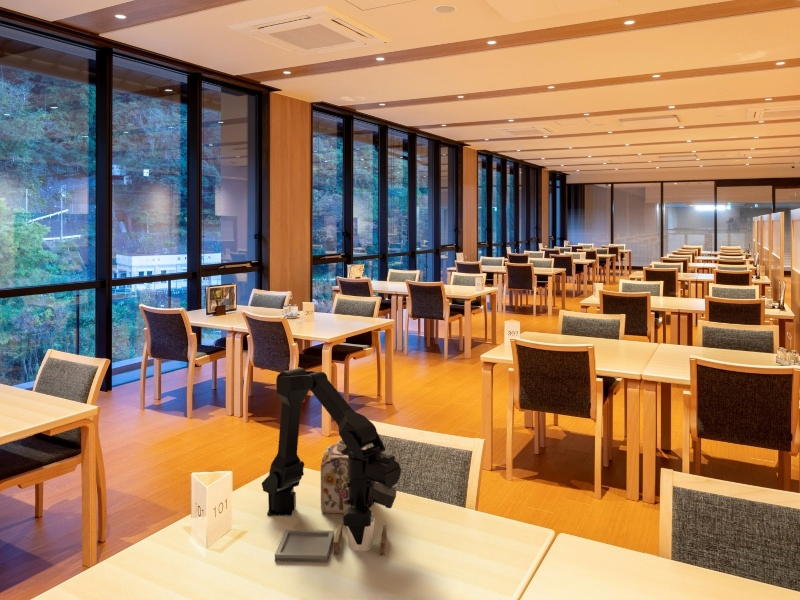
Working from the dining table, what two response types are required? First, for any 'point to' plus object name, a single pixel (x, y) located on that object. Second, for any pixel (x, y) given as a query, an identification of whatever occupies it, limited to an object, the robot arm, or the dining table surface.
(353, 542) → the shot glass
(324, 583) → the dining table surface
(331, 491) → the decorative jar
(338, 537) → the wooden pieces
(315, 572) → the dining table surface
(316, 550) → the tray
